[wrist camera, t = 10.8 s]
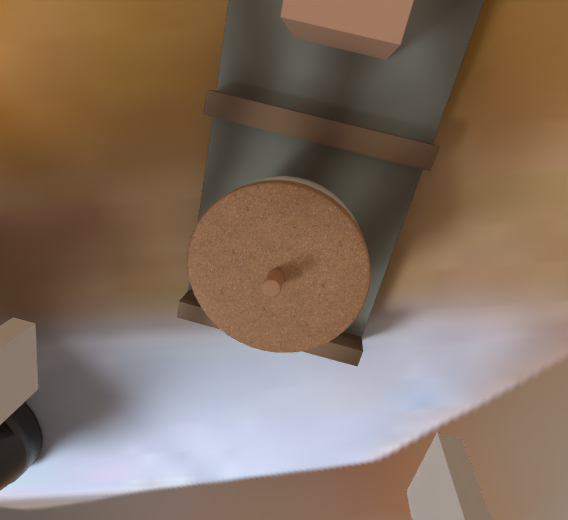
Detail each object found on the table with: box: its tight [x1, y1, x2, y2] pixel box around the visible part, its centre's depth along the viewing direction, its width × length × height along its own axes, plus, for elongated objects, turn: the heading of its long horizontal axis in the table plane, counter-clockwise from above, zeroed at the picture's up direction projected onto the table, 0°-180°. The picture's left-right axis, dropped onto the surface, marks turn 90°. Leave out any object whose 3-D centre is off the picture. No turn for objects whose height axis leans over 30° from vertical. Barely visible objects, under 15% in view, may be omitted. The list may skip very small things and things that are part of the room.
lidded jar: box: [188, 176, 371, 352], centre depth 25 cm, size 11×11×9 cm
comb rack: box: [177, 0, 484, 366], centre depth 26 cm, size 15×33×4 cm, turn 167°
